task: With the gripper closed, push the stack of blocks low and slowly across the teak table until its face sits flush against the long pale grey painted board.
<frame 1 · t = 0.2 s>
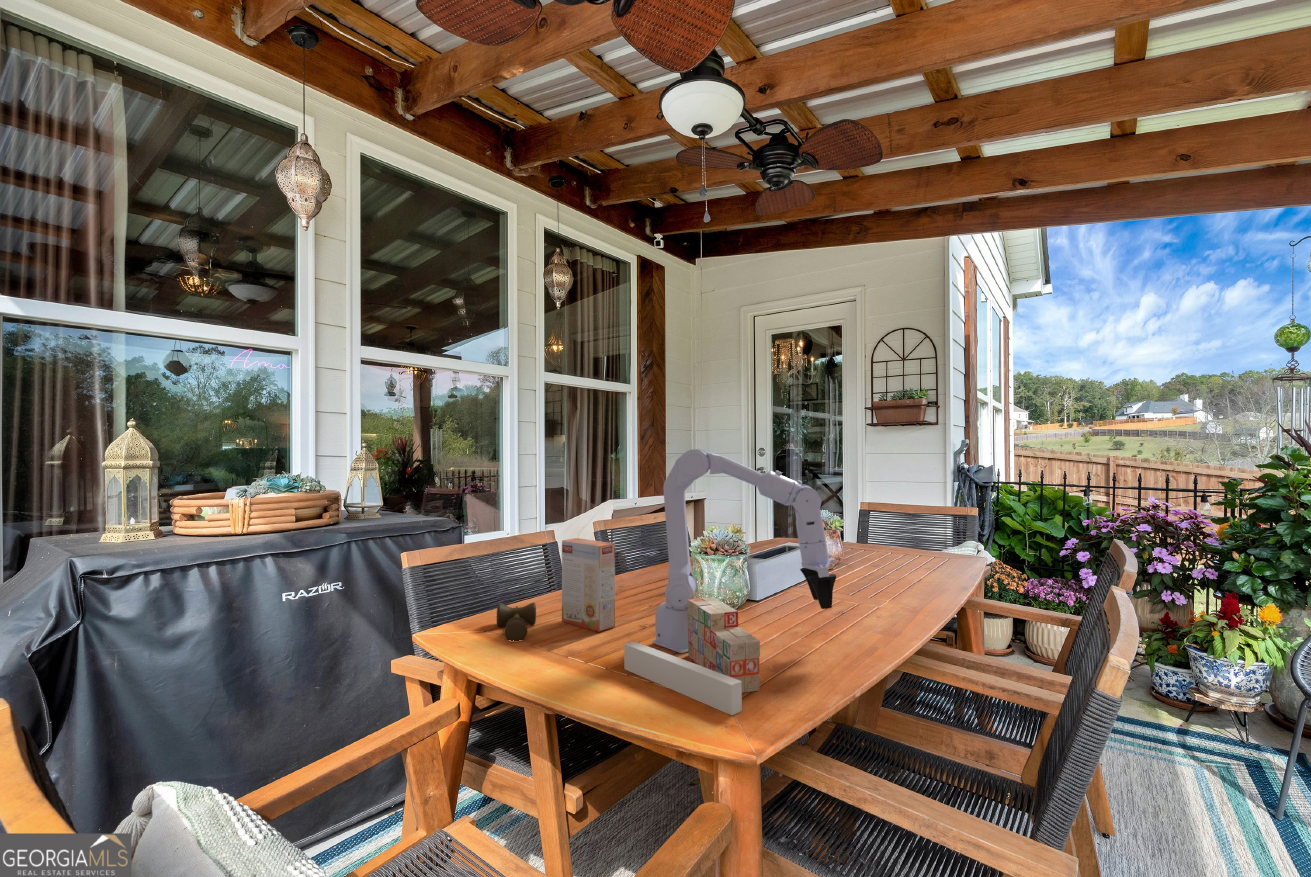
hand: (822, 603, 129), 10 cm above the table, tool pointing down, fingers open, 7 cm apart
cracker box: (588, 625, 149), on the table
grey board: (678, 688, 110), on the table
stack of blocks: (721, 673, 118), on the table
kendama: (516, 631, 145), on the table
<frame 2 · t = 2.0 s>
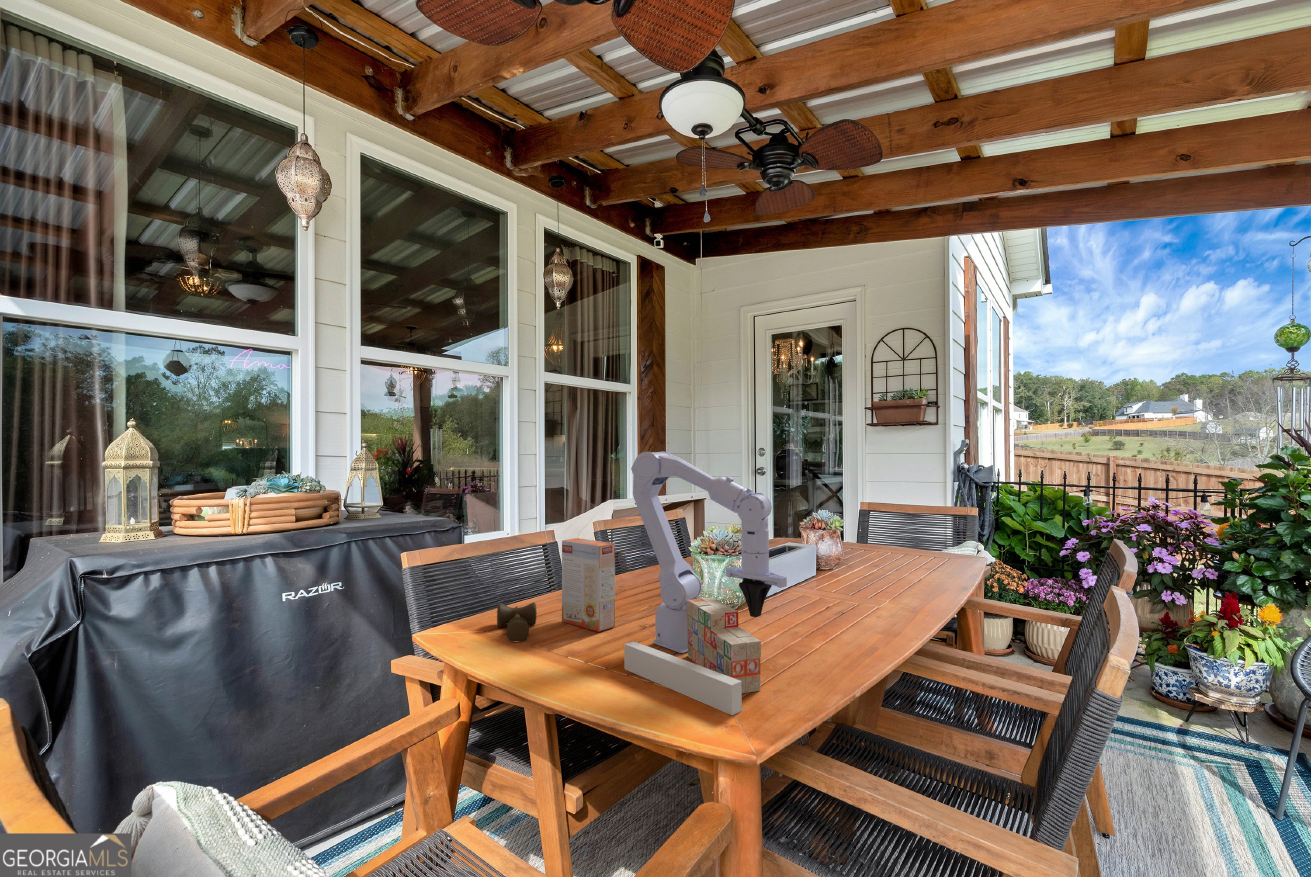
hand: (755, 615, 126), 9 cm above the table, tool pointing down, fingers closed
nothing on the table moved.
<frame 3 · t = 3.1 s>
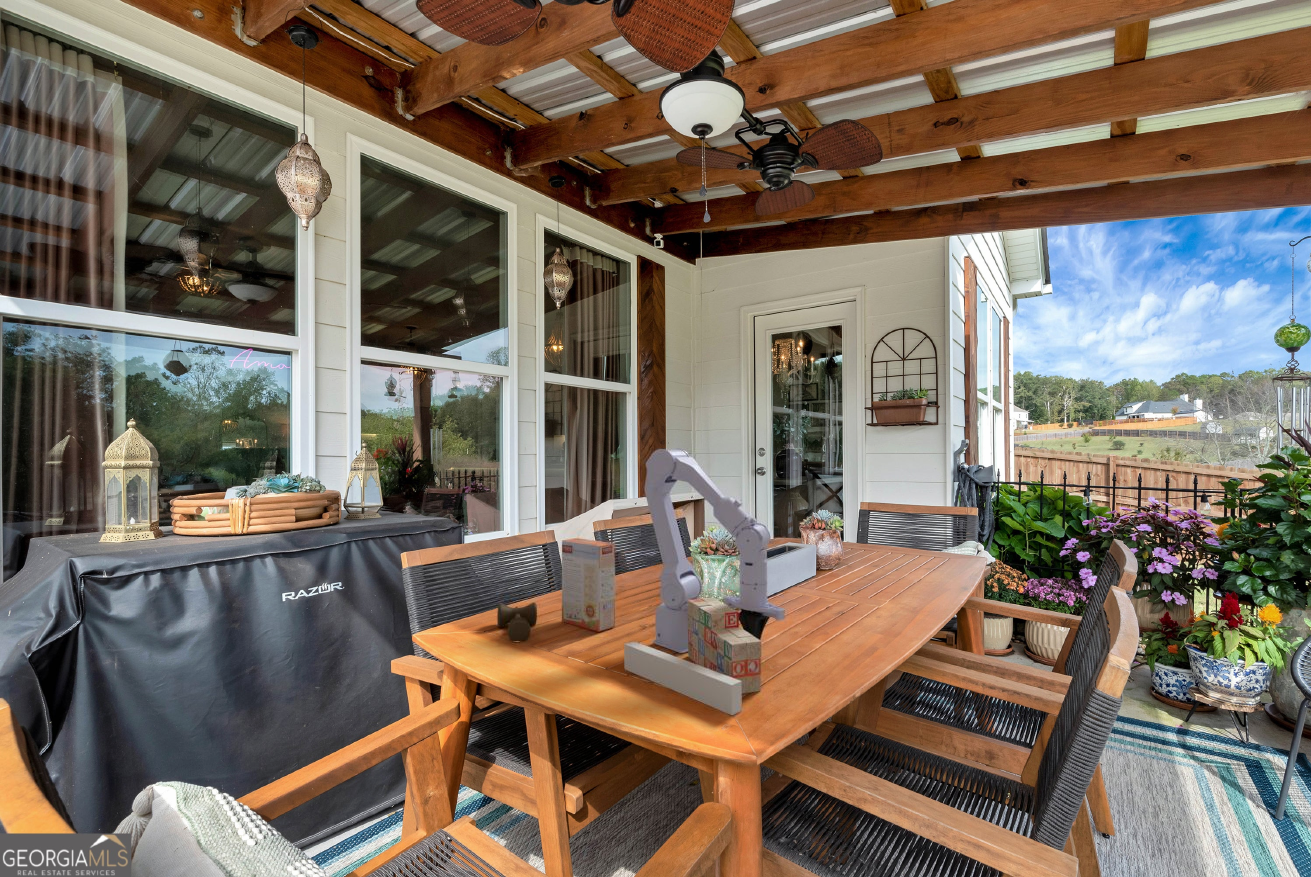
hand: (753, 646, 125), 2 cm above the table, tool pointing down, fingers closed
nothing on the table moved.
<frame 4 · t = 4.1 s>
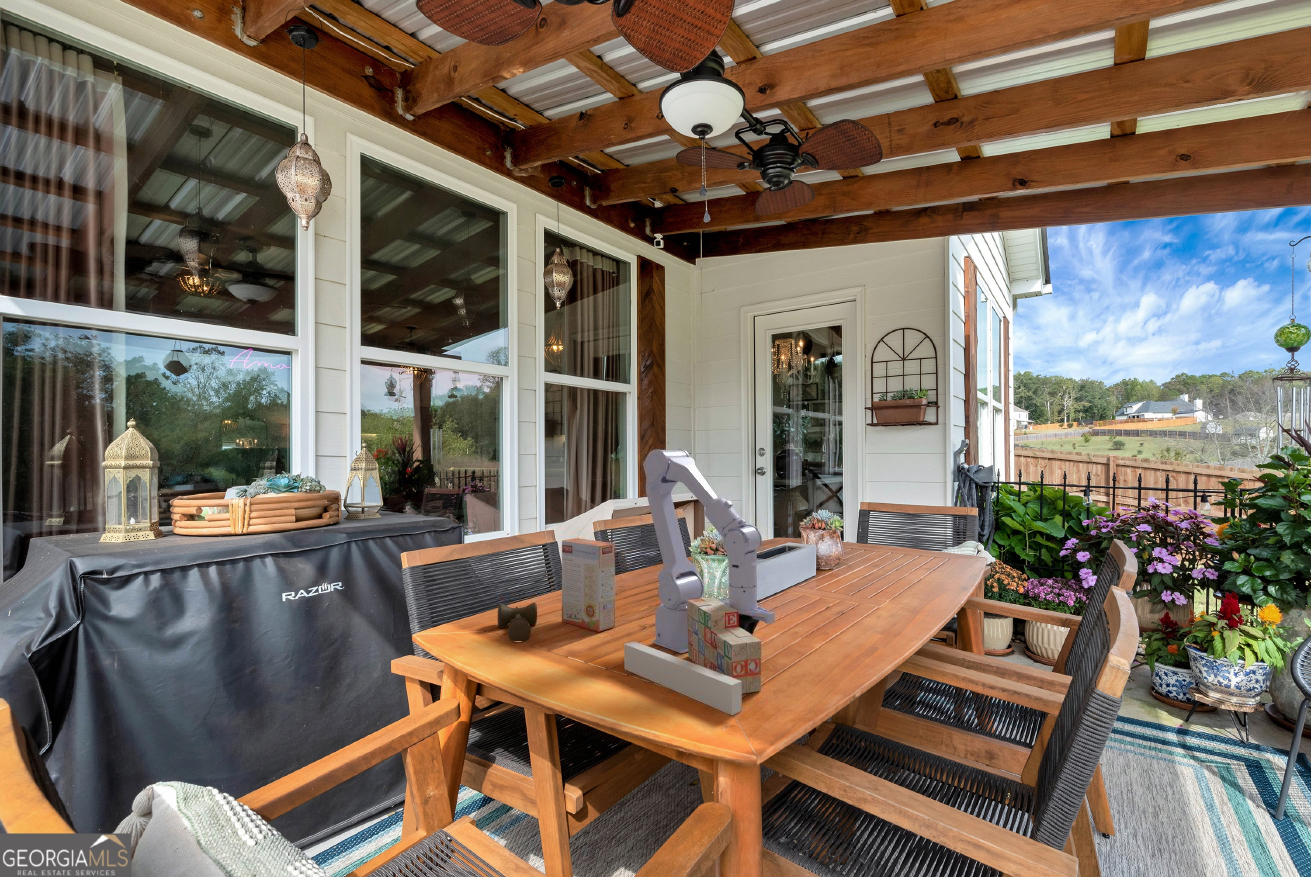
hand: (742, 650, 123), 2 cm above the table, tool pointing down, fingers closed
stack of blocks: (721, 673, 117), on the table, touching gripper
everything else where it was.
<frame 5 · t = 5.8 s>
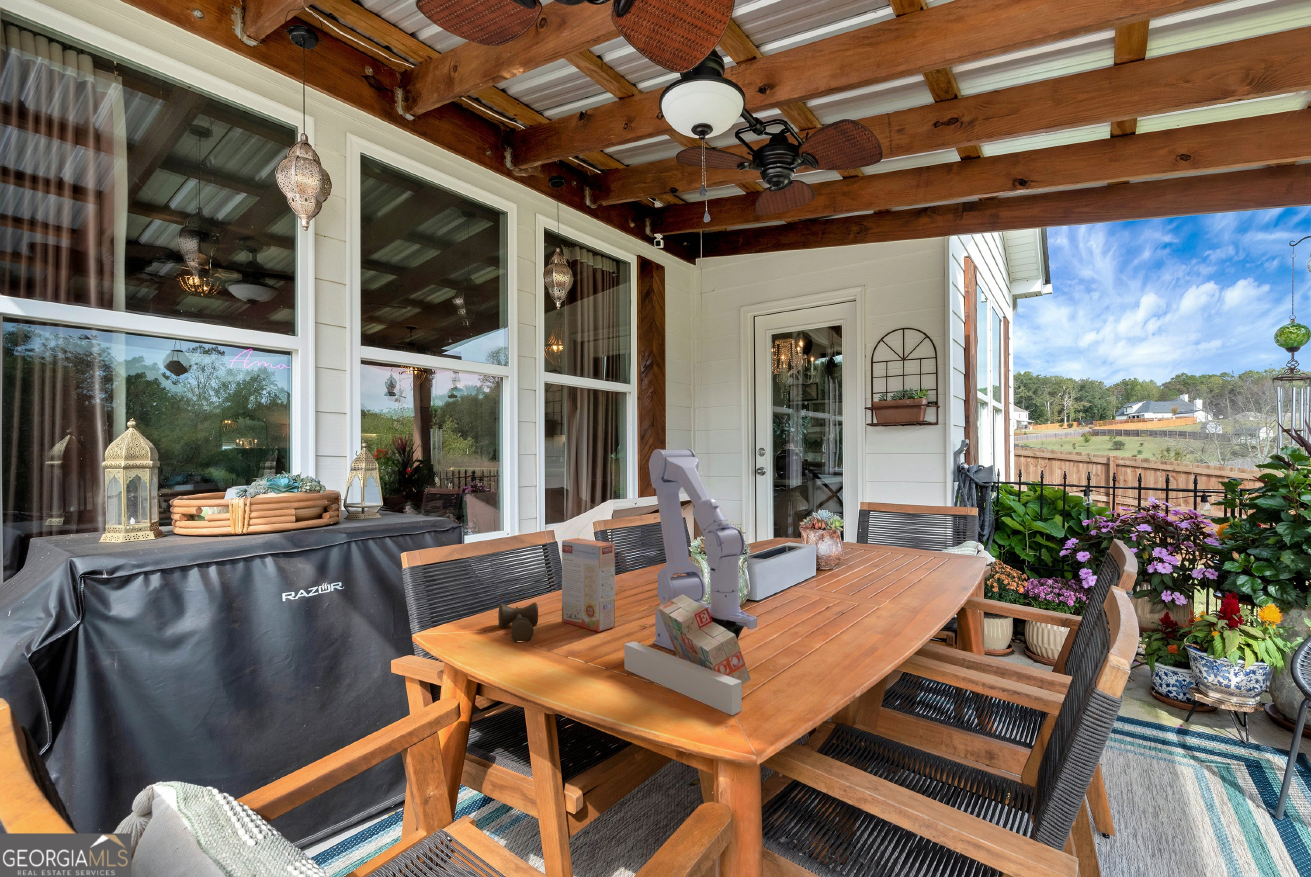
hand: (725, 656, 119), 2 cm above the table, tool pointing down, fingers closed
stack of blocks: (712, 669, 116), point 1 cm above the table, touching grey board, gripper
everything else where it was.
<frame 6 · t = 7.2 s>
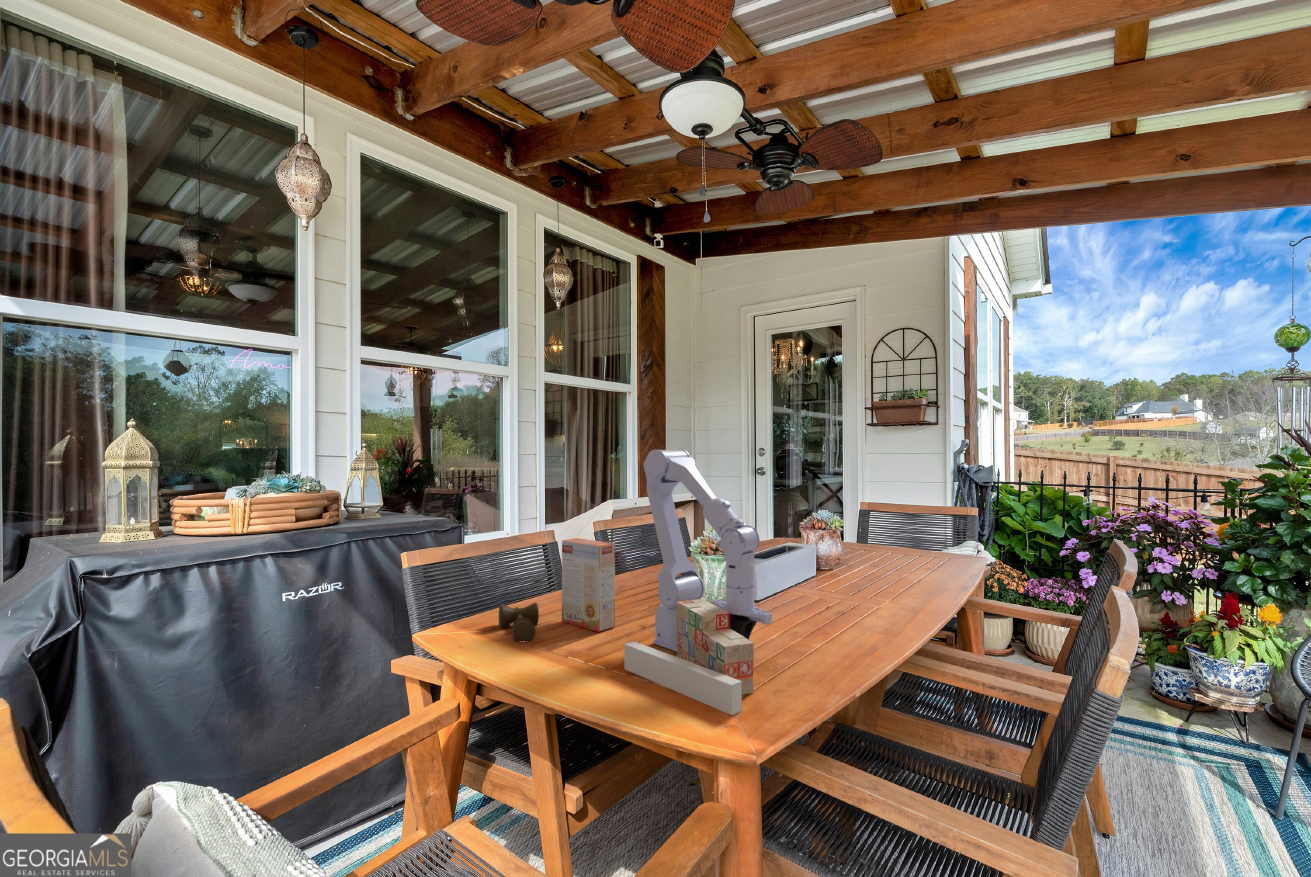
hand: (740, 651, 122), 2 cm above the table, tool pointing down, fingers closed
stack of blocks: (712, 676, 116), on the table
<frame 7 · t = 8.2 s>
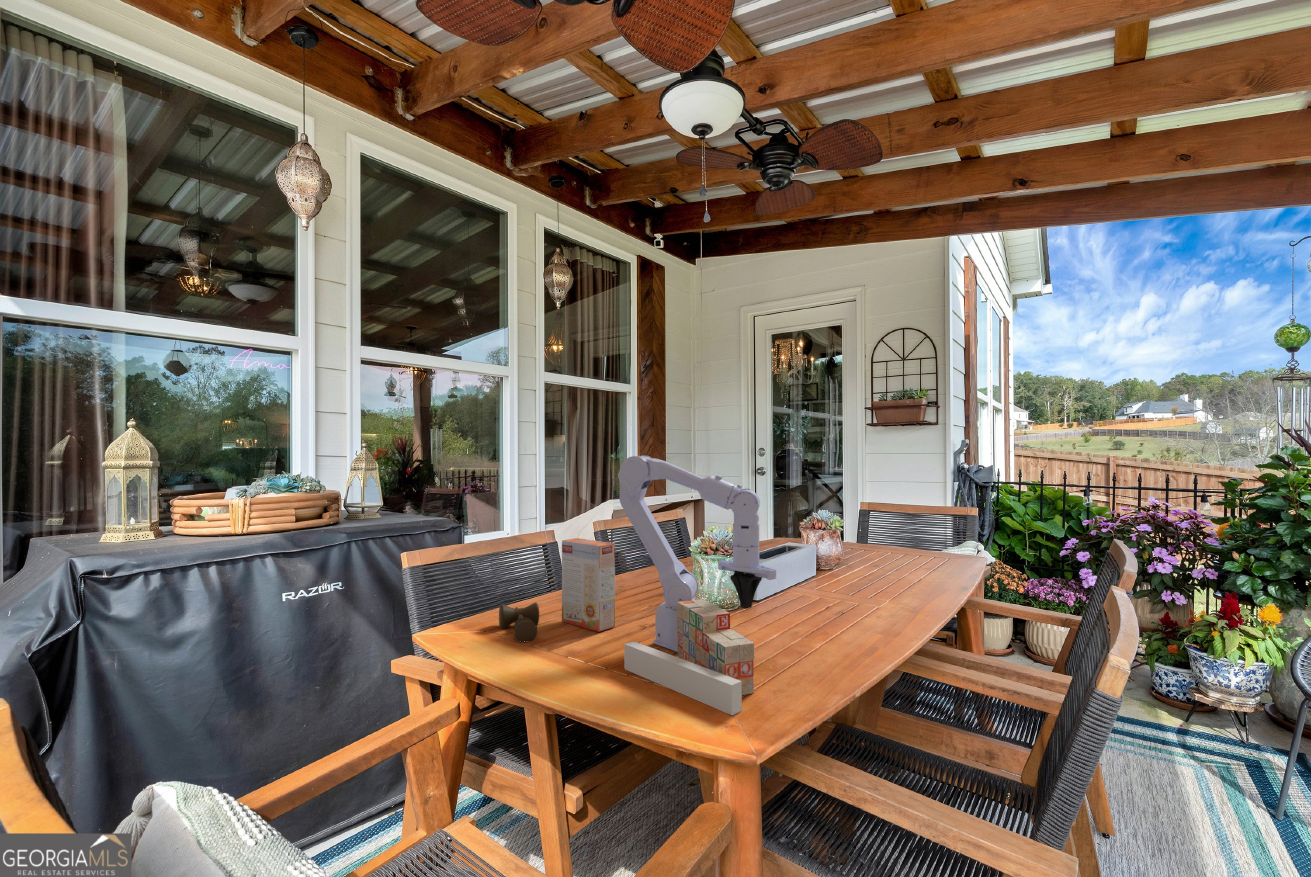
hand: (746, 607, 130), 9 cm above the table, tool pointing down, fingers closed
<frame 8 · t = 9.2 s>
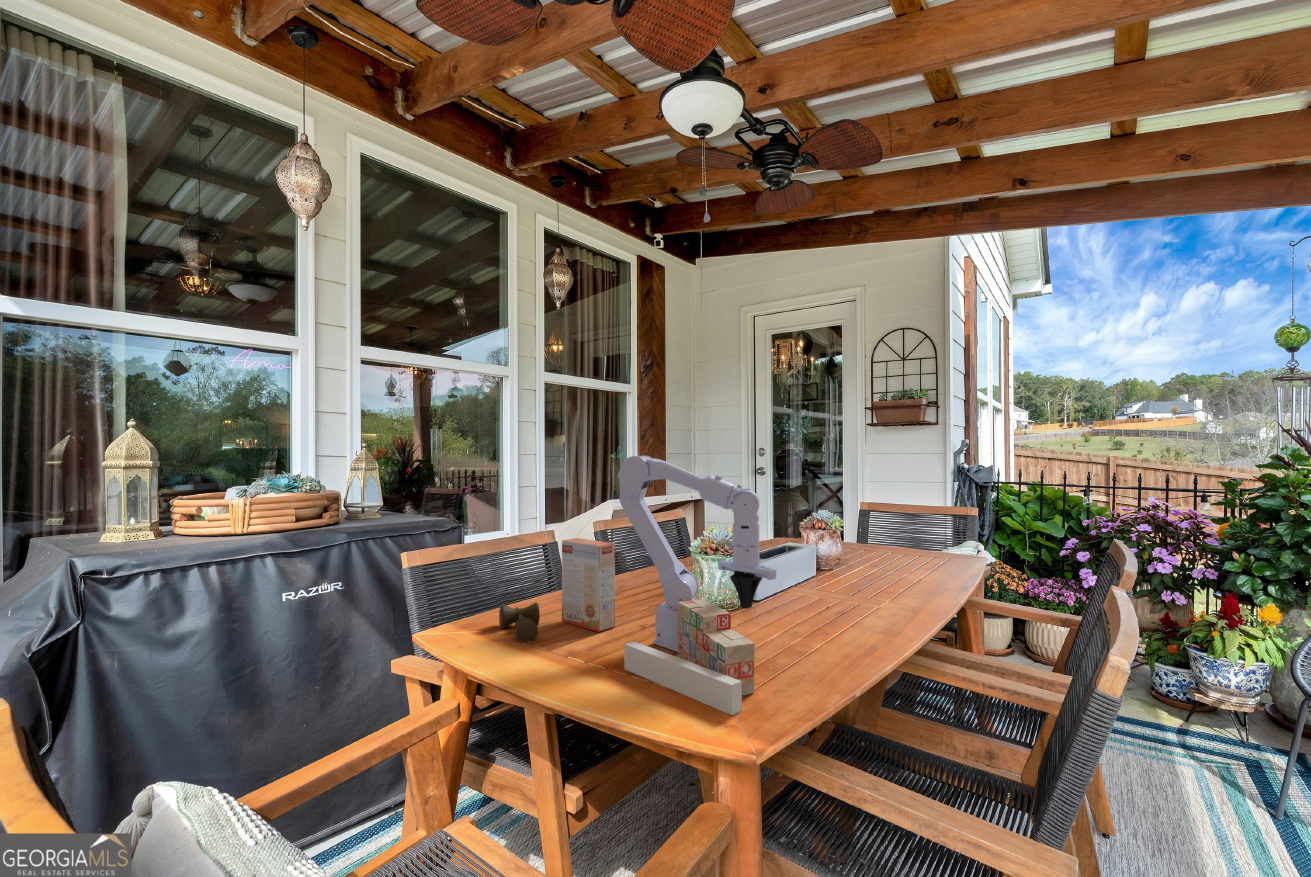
hand: (746, 607, 130), 9 cm above the table, tool pointing down, fingers closed
at the end: stack of blocks inside the target area on the table beside the grey board (0.8 cm from its centre), on the table; stack of blocks tilted 0° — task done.
